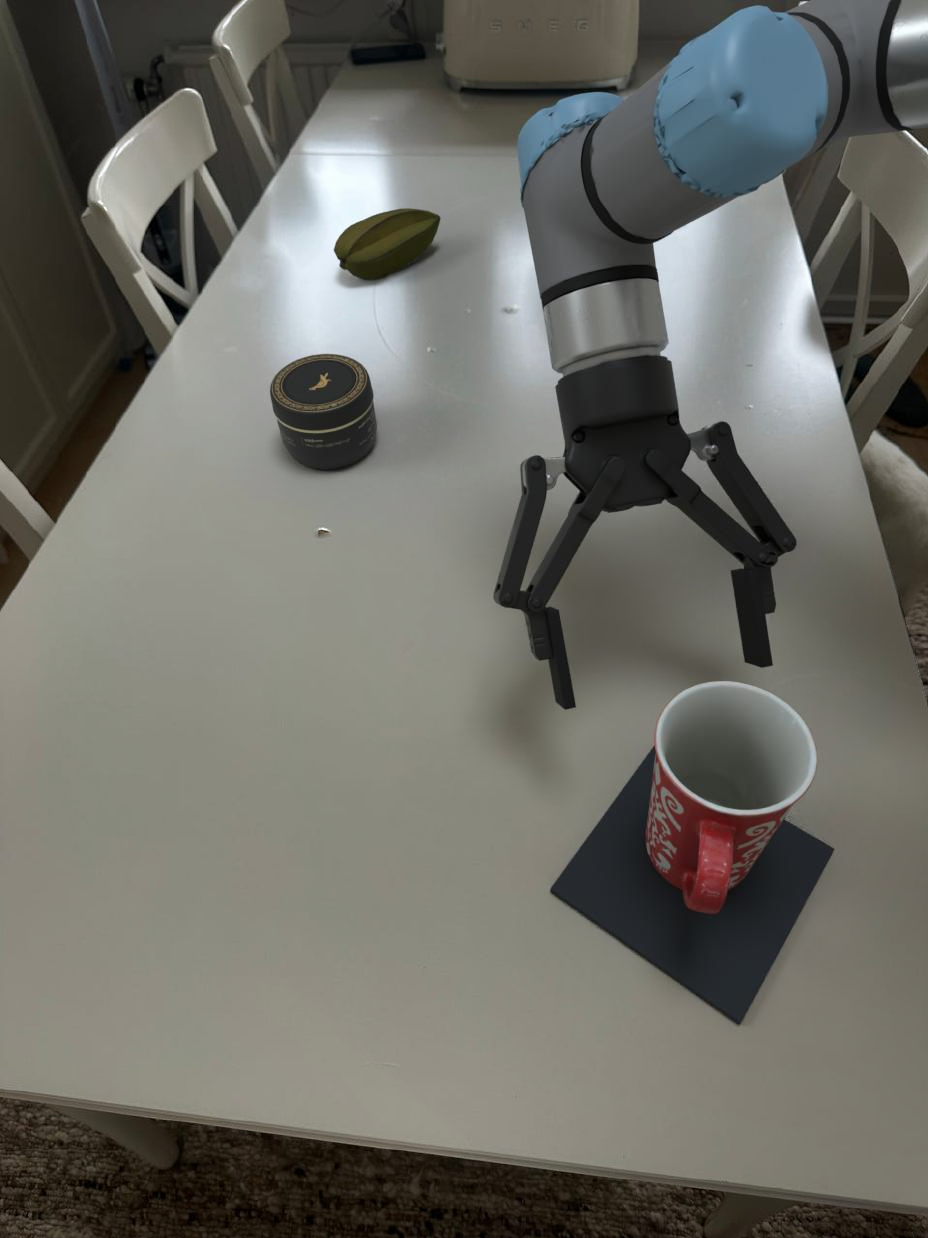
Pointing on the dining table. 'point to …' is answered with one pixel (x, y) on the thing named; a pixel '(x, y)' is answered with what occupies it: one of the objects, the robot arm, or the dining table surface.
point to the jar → (325, 410)
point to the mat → (660, 920)
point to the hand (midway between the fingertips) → (663, 684)
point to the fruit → (386, 242)
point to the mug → (723, 785)
